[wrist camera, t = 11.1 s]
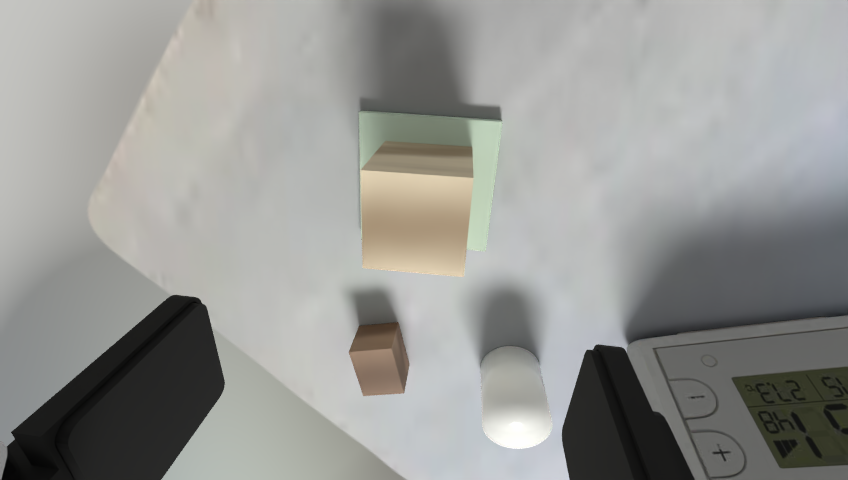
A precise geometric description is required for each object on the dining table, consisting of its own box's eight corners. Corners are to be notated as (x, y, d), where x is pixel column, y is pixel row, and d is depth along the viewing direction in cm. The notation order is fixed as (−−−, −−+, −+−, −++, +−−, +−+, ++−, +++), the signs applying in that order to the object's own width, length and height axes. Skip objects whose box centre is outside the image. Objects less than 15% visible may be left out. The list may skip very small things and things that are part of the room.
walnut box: (359, 324, 30) (348, 352, 28) (398, 321, 30) (391, 348, 27) (372, 366, 32) (363, 395, 29) (409, 363, 32) (403, 393, 29)
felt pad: (361, 110, 24) (358, 112, 23) (501, 119, 23) (502, 121, 22) (363, 236, 27) (361, 240, 26) (485, 247, 26) (485, 251, 26)
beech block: (384, 141, 24) (360, 169, 18) (472, 146, 23) (473, 178, 18) (384, 221, 26) (362, 268, 20) (464, 227, 25) (463, 276, 20)
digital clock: (905, 302, 25) (1167, 458, 16) (845, 408, 29) (1026, 584, 20) (632, 295, 27) (720, 432, 18) (609, 396, 31) (672, 553, 21)
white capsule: (483, 342, 30) (486, 395, 25) (545, 349, 30) (558, 404, 25) (477, 387, 32) (478, 444, 27) (534, 394, 32) (545, 452, 27)
